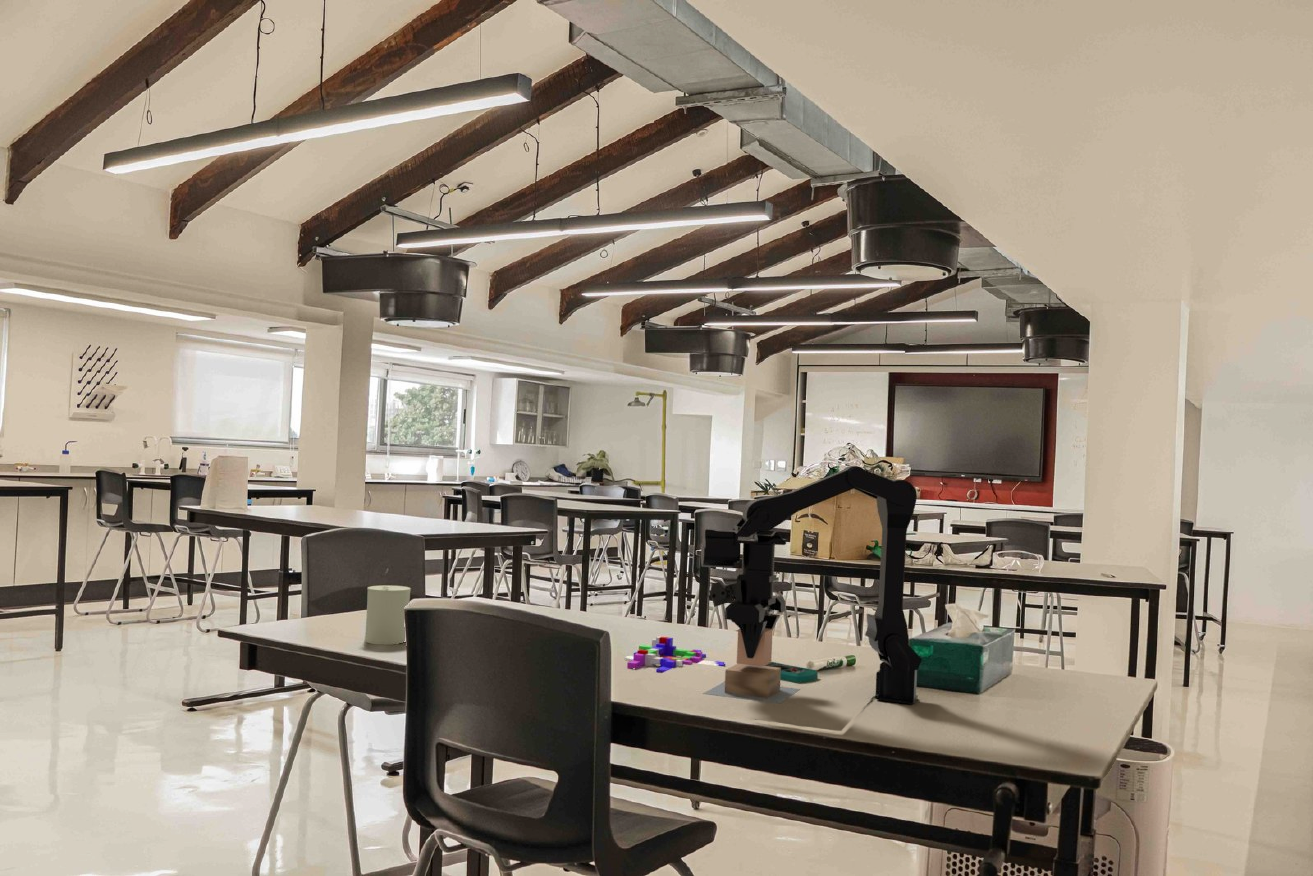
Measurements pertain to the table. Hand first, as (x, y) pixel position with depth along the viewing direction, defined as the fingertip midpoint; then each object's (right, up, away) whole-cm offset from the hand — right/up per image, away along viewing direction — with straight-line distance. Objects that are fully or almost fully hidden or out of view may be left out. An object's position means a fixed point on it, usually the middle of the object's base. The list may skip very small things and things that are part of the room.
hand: (754, 655), depth 186 cm
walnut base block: (0, -6, 0) cm, 6 cm away
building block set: (-14, -8, +29) cm, 33 cm away
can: (-76, -5, +37) cm, 85 cm away
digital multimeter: (+6, -9, +17) cm, 20 cm away
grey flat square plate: (0, -7, 0) cm, 7 cm away
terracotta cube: (0, -1, 0) cm, 1 cm away
